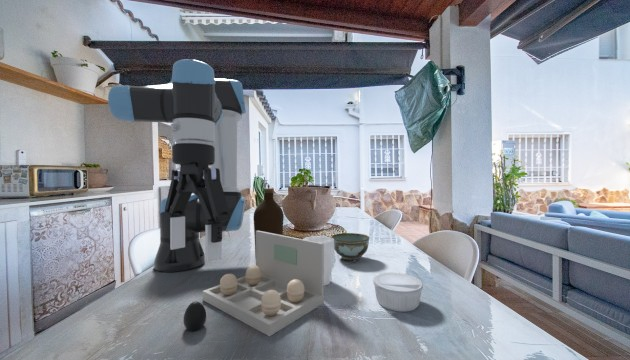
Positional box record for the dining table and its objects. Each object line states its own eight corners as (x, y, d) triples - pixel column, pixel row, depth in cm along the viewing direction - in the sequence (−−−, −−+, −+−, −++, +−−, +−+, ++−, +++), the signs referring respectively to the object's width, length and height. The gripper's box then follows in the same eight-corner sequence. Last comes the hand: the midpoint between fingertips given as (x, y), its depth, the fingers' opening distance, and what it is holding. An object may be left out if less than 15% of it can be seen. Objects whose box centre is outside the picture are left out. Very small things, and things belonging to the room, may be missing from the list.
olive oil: (274, 264, 91) (274, 189, 90) (247, 261, 94) (247, 189, 94) (288, 255, 101) (288, 188, 100) (263, 252, 104) (263, 187, 104)
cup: (331, 290, 71) (332, 244, 71) (298, 287, 73) (298, 242, 72) (336, 277, 80) (336, 236, 79) (306, 275, 81) (306, 235, 81)
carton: (202, 300, 65) (202, 241, 65) (258, 279, 78) (257, 230, 78) (269, 336, 50) (269, 261, 50) (323, 303, 63) (323, 243, 63)
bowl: (373, 265, 90) (373, 241, 90) (332, 264, 91) (332, 241, 90) (365, 253, 104) (365, 232, 104) (330, 253, 104) (330, 232, 104)
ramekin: (396, 319, 56) (396, 294, 56) (363, 298, 66) (363, 276, 66) (433, 307, 62) (433, 284, 62) (397, 289, 72) (397, 269, 71)
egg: (210, 323, 55) (210, 299, 55) (195, 335, 51) (195, 308, 51) (194, 320, 56) (194, 296, 56) (178, 331, 52) (178, 305, 52)
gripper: (147, 147, 58) (147, 247, 58) (211, 135, 42) (211, 272, 42) (182, 150, 63) (182, 241, 63) (250, 140, 48) (250, 260, 48)
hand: (194, 253), depth 53 cm, fingers open, 13 cm apart
